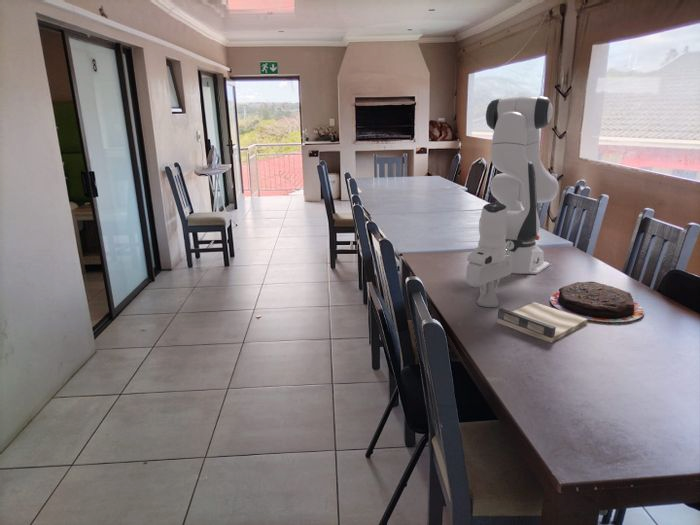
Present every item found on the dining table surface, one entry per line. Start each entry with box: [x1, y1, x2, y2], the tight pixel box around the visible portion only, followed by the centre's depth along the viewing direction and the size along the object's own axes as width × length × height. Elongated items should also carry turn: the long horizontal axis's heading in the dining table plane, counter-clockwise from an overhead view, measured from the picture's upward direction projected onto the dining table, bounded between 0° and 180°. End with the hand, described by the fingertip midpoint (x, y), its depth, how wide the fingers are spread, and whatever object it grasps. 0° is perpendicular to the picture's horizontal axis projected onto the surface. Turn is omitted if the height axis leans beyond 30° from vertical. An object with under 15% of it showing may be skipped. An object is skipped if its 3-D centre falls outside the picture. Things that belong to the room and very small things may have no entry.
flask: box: [476, 281, 500, 308], centre depth 161 cm, size 7×7×10 cm
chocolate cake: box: [549, 281, 645, 325], centre depth 157 cm, size 28×28×7 cm
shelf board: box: [496, 301, 588, 344], centre depth 146 cm, size 20×18×4 cm
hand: (488, 292), depth 161 cm, fingers closed on flask, 3 cm apart
